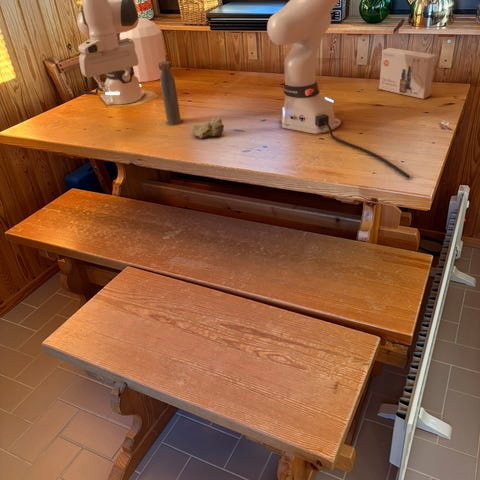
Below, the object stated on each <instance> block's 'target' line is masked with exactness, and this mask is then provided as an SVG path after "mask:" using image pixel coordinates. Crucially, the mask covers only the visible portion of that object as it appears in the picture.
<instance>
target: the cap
mask: <svg viewBox="0 0 480 480" xmlns="http://www.w3.org/2000/svg"><path fill="white" fill-rule="evenodd" d="M171 68H172V63H171V61H168V60H166V61H165V62H160V63H159V69H160V70H168V69H170V70H171Z"/></svg>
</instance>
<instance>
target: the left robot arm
mask: <svg viewBox="0 0 480 480" xmlns="http://www.w3.org/2000/svg"><path fill="white" fill-rule="evenodd" d="M81 3H82V5H81V6H80V12H79V13H78V14H77V19H76V22H77V23H76V24H77V28H78V30H79V32H80V33H81V34H82V35H83V36H84V37H86V38H87V40H85V41H84V42H83V43H81V44H79V45H78V46H77V49H78V52H79V53H80V54H79V56H78V61H79V67H80V72H81V75H82V76H83V77H85V78H92V77H93V79H94V80H95V82H97V83H98V87H96V89H95V91H84V90H83V89H82V88H79V89H78V91H77V92H78V93H83V94H85V95H97V94H98V92H102V94H100V98H101V99H102V100H103V102H104V103H105V104H106V105H108V106H109V105H111V106H112V105H125V104H126V105H127V104H131V103H135V102H138V101H140V100H141V99H142V98H143V96H145V95H146V93H145V91H143V90H142V84H140V82H139V80H138V78H137V77H136V76H134V69H133V66H137V65H138V58H137V54H136V52H135V45H134V42H133V40H131V39H129V38H126V39H121V40H120V39H118V34H120V33H122V32H127V31H130V30H132V29H134V28H136V27H137V25H138V20H139V18H140V17H139V9H138V6H137V3H136V1H135V0H81ZM130 40H131V41H130ZM104 74H105V76H106V80H105V81H101V80H100V78H101V77H100V76H101V75H104Z"/></svg>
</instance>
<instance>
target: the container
mask: <svg viewBox="0 0 480 480" xmlns="http://www.w3.org/2000/svg"><path fill="white" fill-rule="evenodd" d="M126 38H129V39H131V40H133V42H134V45H135V52H136V54H137V58H138V65H137V66H133V69H134V76H136V77H137V78H138V80H139V83H144V82H152V81H157V80H160V77H161V72H162V71H161V70H160V69H159V63H160V62H165V61H167V57H166V51H165V45H164V39H163V32H162V30H161V29H160V27H159V26H158V25H157V24H156V23H155V22H154V21H152V20H150V19H148V18H144V17H139V20H138V25H137V27H136V28H134V29H132V30H130V31H127V32H122V33H119V40H121V39H126ZM131 40H130V41H131Z"/></svg>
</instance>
